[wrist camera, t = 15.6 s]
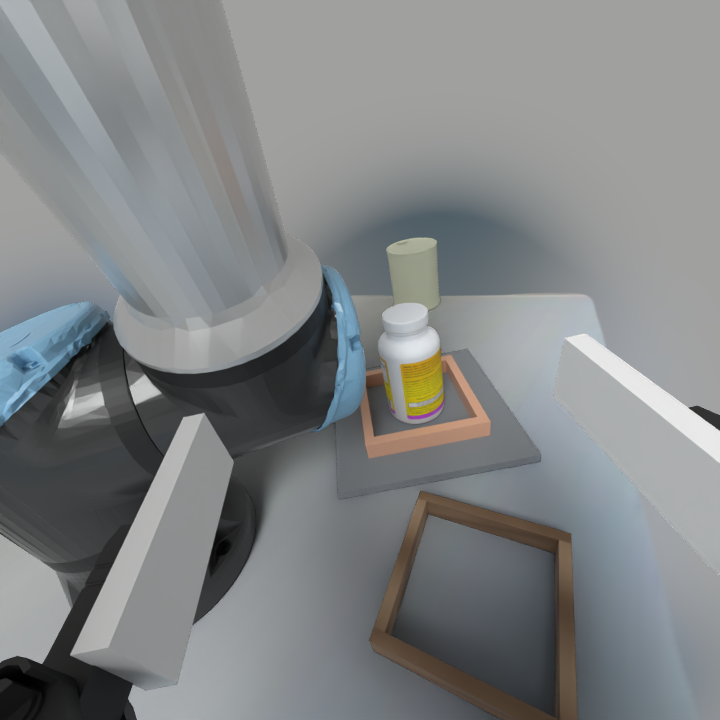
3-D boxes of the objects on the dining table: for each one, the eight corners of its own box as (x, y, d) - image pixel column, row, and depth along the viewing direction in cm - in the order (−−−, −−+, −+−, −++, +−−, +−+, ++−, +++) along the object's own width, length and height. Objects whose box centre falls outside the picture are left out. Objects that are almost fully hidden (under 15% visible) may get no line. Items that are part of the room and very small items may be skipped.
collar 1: (490, 435, 35) (490, 421, 34) (368, 458, 35) (365, 445, 34) (451, 366, 46) (450, 354, 45) (358, 384, 46) (356, 373, 45)
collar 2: (572, 757, 18) (578, 750, 17) (373, 651, 23) (369, 640, 22) (566, 547, 26) (571, 533, 25) (422, 503, 31) (420, 490, 30)
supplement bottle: (455, 400, 40) (451, 303, 33) (425, 435, 37) (413, 334, 30) (409, 383, 44) (397, 294, 37) (378, 413, 41) (359, 321, 34)
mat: (539, 461, 32) (541, 454, 32) (339, 499, 33) (337, 493, 33) (467, 354, 49) (467, 348, 49) (335, 380, 50) (333, 375, 49)
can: (418, 289, 72) (412, 233, 65) (450, 299, 65) (448, 237, 59) (384, 305, 68) (375, 247, 62) (415, 318, 62) (408, 253, 55)
